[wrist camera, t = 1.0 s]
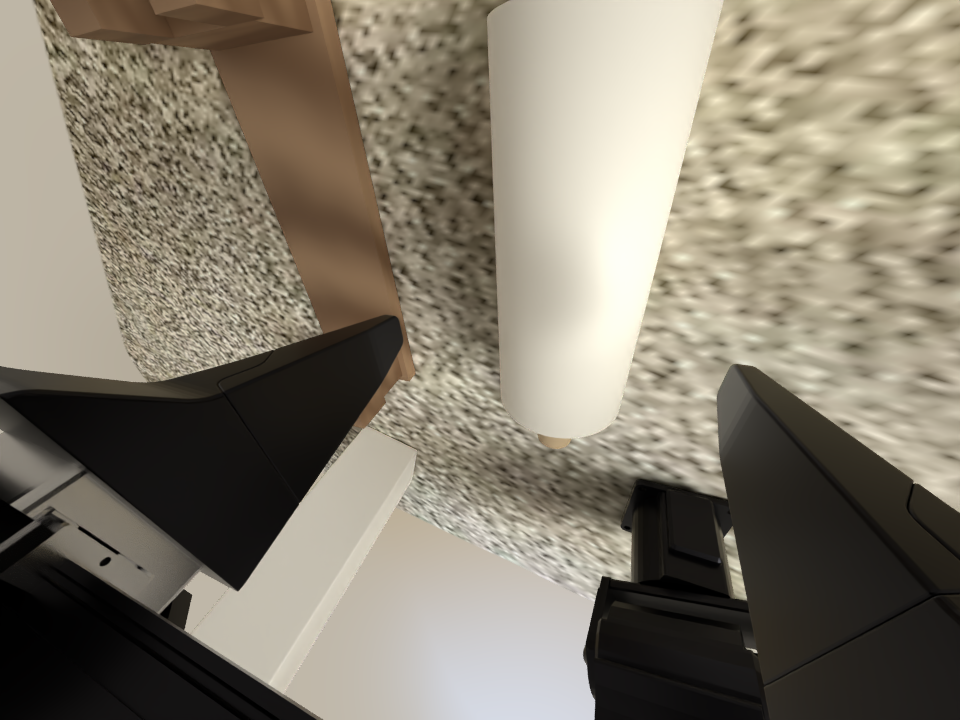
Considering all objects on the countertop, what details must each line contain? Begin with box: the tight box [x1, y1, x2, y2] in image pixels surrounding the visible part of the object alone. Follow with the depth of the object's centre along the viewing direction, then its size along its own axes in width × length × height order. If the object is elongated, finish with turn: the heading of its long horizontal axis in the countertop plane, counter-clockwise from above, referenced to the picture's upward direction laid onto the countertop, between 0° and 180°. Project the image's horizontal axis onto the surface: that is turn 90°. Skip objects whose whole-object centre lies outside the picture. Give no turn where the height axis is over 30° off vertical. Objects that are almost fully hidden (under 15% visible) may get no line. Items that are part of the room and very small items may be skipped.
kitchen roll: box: [487, 0, 724, 449], centre depth 14 cm, size 22×6×6 cm, turn 4°
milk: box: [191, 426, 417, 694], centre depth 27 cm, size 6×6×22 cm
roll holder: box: [50, 0, 416, 429], centre depth 19 cm, size 22×7×6 cm, turn 4°
